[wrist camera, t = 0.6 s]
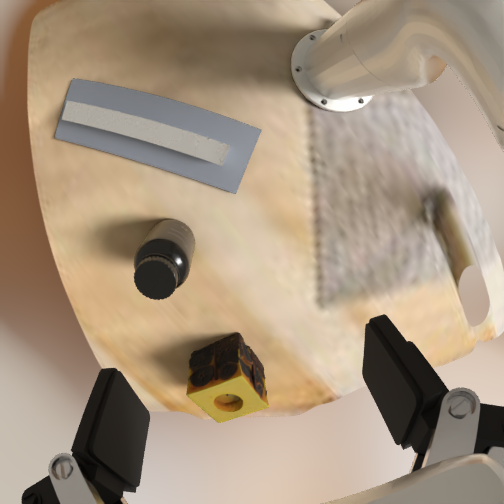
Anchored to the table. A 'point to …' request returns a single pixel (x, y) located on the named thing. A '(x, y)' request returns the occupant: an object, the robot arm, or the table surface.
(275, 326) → the table surface
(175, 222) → the supplement bottle
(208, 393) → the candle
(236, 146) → the board
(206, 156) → the metal bar
